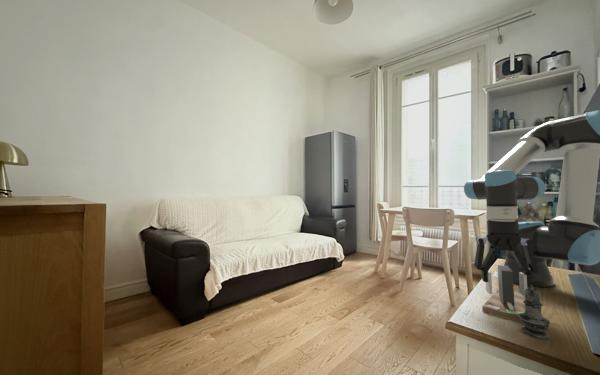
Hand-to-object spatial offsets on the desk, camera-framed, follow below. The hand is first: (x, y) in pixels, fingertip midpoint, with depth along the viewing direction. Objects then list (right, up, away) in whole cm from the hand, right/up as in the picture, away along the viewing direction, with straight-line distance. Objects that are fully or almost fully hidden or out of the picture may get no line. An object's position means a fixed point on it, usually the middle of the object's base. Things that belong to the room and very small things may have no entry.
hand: (506, 293), depth 76 cm
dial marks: (-4, -3, -5) cm, 7 cm away
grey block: (-1, -2, -2) cm, 3 cm away
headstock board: (+2, -4, +1) cm, 5 cm away
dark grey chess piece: (-4, -4, -14) cm, 15 cm away
